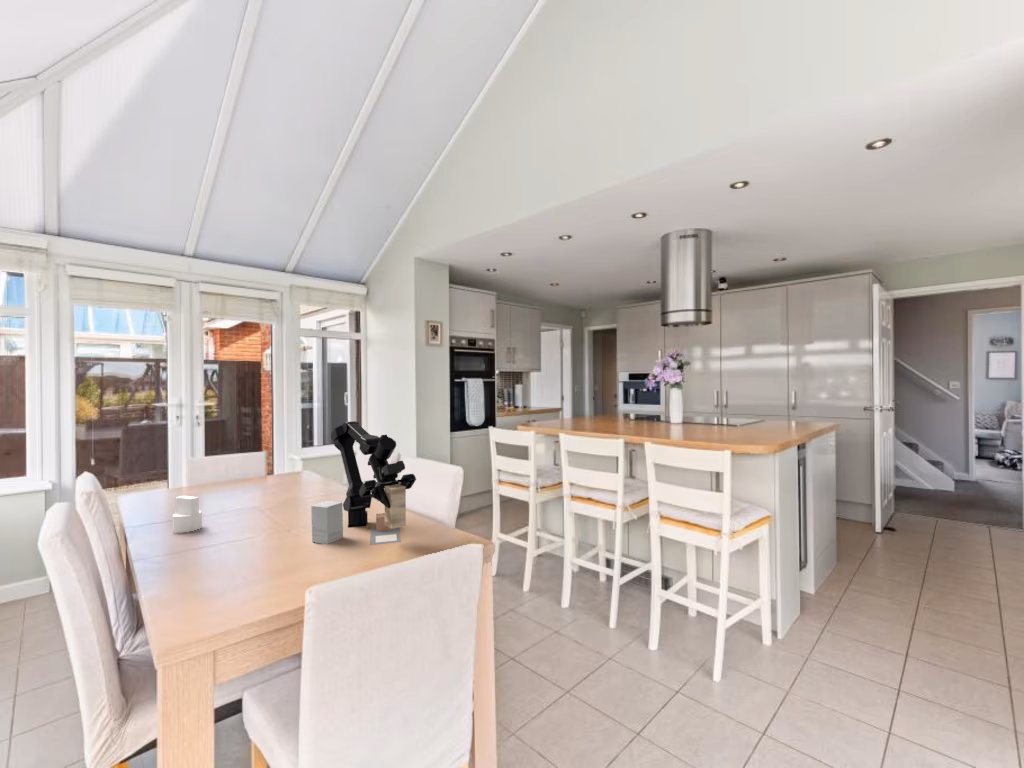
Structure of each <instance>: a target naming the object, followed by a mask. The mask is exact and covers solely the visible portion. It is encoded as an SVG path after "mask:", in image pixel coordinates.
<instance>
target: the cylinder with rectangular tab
mask: <svg viewBox="0 0 1024 768" xmlns="http://www.w3.org/2000/svg"><path fill="white" fill-rule="evenodd" d="M199 502H200V501H199V496H190V495H179V496H176V497H175V513H173V514H172V532H173V531H174V532H187V533H190V532H189V531H193V532H195V531H194V530H196V531H198V530H197V529H199V530H201V529H202V528H201V527H203V521H202V520H203V519H202V518H203V515H202V514H203V513H202V510H201V509H200V505H199V504H200V503H199ZM200 528H201V529H200ZM174 532H173V533H174Z"/></svg>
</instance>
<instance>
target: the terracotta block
mask: <svg viewBox="0 0 1024 768" xmlns="http://www.w3.org/2000/svg"><path fill="white" fill-rule="evenodd" d="M375 524H376V525H375V527H376V531H387V530H391V528H389V527H387V526H385V512H384V513H376V514H375Z"/></svg>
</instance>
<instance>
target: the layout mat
mask: <svg viewBox="0 0 1024 768" xmlns="http://www.w3.org/2000/svg"><path fill="white" fill-rule="evenodd" d="M401 542H402V539H401V532H400V527H398V528H394V529H391V530H387V531H376V526H371V527H370V535H369V546H372V545H373V546H374V545H382V544H384V545H385V544H392V543H393V544H395V543H401Z"/></svg>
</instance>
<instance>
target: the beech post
mask: <svg viewBox="0 0 1024 768" xmlns="http://www.w3.org/2000/svg"><path fill="white" fill-rule="evenodd" d="M384 490H385V494H386V496H387V498H388V500H389V503H390V506H391V507H390V508H387V507H386V506H385V505H384V513H385V526H387V527H389V528H391V529H394V528H398V527H399V528H402V527H406V526H407V525H406V524H407V523H406V521H407V519H406V518H407V517H406V516H407V515H406V513H407V512H406V511H407V510H406V507H407V506H406V505H407V503H406V502H407V500H406V498H407V497H406V496H407V495H406V491H407V489H406V487H405V486H402V485H399V484H396V485H390V486H385V488H384Z"/></svg>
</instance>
